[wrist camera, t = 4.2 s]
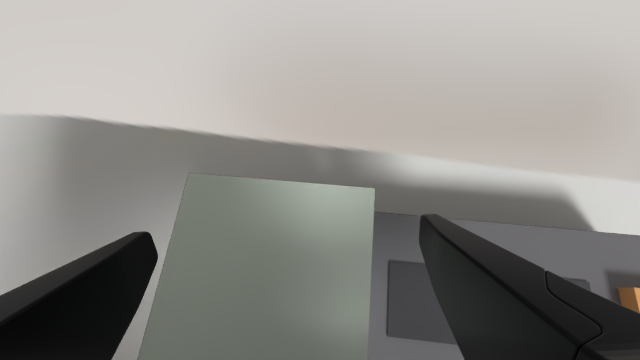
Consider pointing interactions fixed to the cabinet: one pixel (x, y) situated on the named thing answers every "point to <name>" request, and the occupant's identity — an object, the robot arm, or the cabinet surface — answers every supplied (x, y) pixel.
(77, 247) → the cabinet surface
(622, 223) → the cabinet surface
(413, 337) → the power strip
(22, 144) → the cabinet surface
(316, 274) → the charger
